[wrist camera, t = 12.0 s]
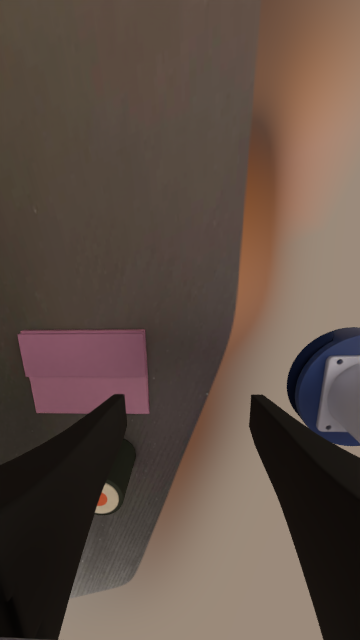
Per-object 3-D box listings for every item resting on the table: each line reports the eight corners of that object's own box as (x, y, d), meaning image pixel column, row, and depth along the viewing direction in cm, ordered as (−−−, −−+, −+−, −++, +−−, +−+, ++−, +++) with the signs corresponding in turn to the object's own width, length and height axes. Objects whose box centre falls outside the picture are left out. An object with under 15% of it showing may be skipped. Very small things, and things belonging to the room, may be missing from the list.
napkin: (145, 329, 19) (143, 331, 18) (149, 410, 21) (148, 416, 20) (24, 329, 19) (16, 332, 18) (39, 410, 21) (33, 415, 20)
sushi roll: (134, 437, 21) (120, 480, 17) (137, 469, 22) (124, 518, 18) (95, 436, 22) (70, 479, 17) (99, 468, 23) (77, 517, 18)
